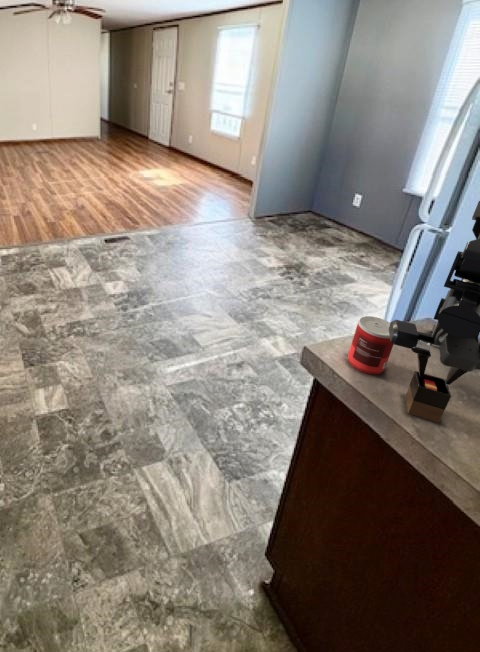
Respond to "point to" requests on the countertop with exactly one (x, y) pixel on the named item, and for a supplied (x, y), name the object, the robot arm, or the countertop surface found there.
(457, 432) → the countertop surface
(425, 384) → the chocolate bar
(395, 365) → the countertop surface
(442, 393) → the open brown box
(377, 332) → the canned food
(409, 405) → the dark brown cube
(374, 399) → the countertop surface
